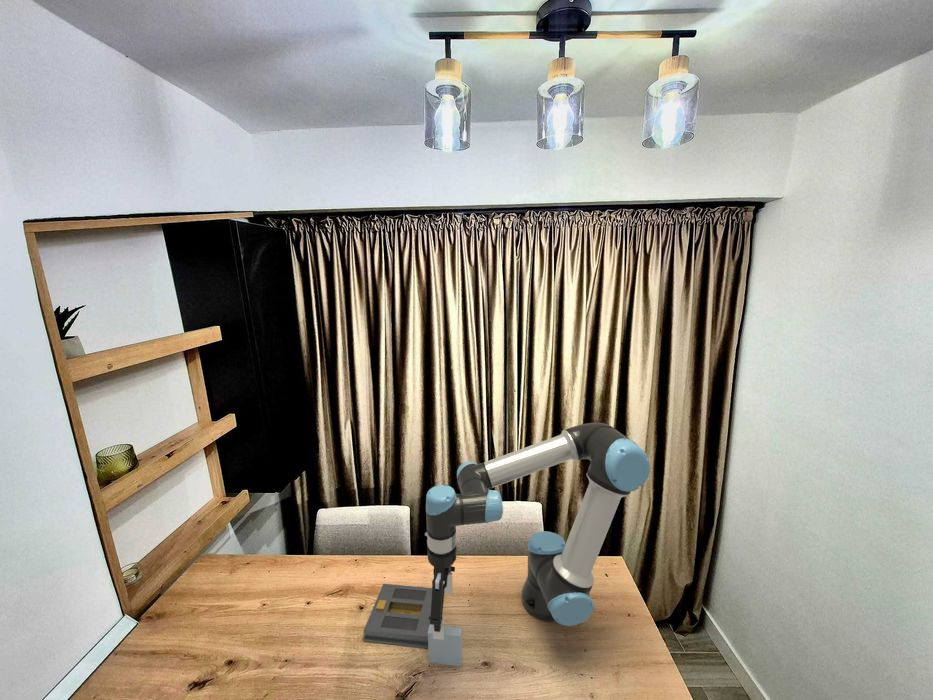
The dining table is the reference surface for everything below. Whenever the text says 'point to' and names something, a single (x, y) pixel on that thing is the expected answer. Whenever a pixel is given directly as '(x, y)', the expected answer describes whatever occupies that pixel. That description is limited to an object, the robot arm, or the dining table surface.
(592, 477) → the robot arm
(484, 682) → the dining table surface
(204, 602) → the dining table surface
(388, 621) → the panel
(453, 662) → the panel
